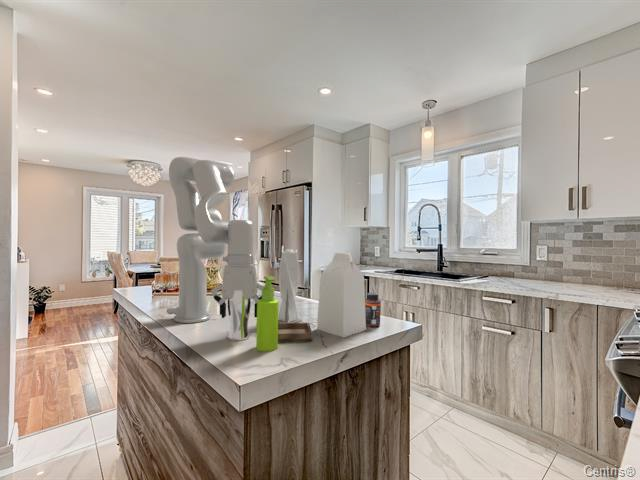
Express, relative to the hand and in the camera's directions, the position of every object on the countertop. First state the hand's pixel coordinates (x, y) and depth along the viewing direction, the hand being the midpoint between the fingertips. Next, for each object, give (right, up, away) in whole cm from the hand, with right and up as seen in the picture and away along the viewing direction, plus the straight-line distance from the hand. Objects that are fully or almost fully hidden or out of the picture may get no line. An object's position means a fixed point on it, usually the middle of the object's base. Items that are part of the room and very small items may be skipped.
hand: (240, 316), depth 97 cm
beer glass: (0, -7, 0) cm, 7 cm away
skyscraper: (+12, -7, +21) cm, 25 cm away
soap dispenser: (+10, -7, -9) cm, 15 cm away
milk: (+32, -7, +11) cm, 34 cm away
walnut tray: (+15, -7, +3) cm, 17 cm away
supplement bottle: (+43, -7, +17) cm, 47 cm away
